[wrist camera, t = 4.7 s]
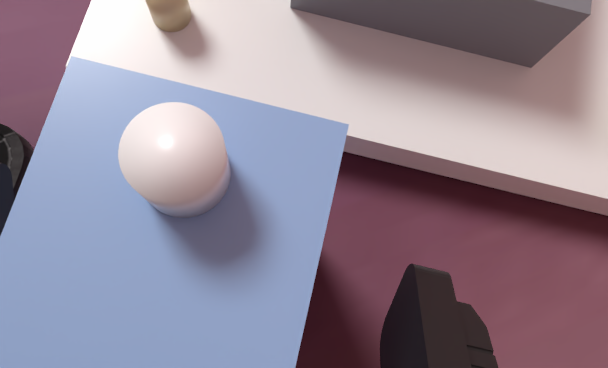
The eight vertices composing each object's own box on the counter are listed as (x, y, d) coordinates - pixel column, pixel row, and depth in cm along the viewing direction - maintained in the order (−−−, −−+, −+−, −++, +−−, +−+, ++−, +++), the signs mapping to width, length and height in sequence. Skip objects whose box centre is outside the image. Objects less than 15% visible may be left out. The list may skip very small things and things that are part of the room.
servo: (134, 342, 14) (-127, 410, 5) (178, 196, 16) (39, 14, 6) (267, 373, 15) (274, 503, 5) (301, 226, 16) (362, 95, 6)
